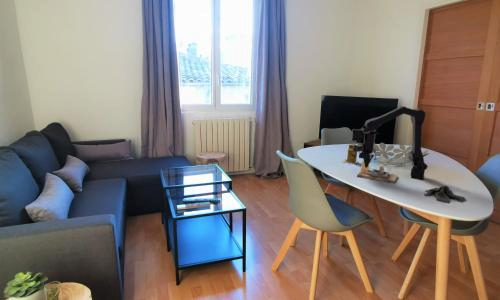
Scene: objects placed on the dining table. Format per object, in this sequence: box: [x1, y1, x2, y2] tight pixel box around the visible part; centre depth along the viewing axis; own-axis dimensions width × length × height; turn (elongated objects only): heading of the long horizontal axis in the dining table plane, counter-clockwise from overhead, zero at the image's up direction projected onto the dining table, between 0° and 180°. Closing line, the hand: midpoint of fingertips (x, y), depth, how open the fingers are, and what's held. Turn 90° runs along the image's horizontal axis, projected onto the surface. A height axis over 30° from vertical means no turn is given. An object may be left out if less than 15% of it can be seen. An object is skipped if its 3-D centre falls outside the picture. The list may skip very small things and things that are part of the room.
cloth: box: [423, 185, 466, 204], centre depth 151 cm, size 22×19×6 cm
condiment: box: [342, 143, 358, 165], centre depth 209 cm, size 7×8×12 cm
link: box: [360, 159, 390, 178], centre depth 179 cm, size 15×9×6 cm, turn 58°
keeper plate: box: [356, 165, 398, 184], centre depth 178 cm, size 20×13×7 cm, turn 57°
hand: (366, 167), depth 181 cm, fingers closed on link
